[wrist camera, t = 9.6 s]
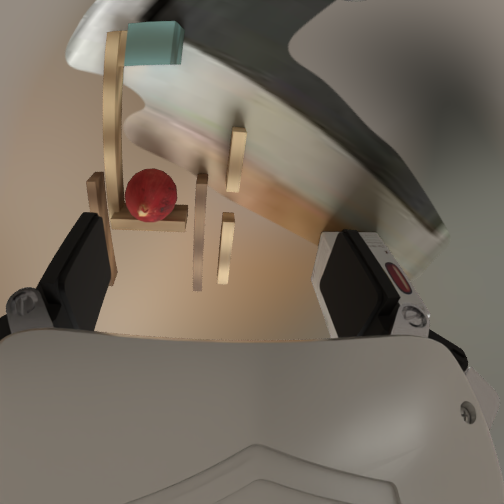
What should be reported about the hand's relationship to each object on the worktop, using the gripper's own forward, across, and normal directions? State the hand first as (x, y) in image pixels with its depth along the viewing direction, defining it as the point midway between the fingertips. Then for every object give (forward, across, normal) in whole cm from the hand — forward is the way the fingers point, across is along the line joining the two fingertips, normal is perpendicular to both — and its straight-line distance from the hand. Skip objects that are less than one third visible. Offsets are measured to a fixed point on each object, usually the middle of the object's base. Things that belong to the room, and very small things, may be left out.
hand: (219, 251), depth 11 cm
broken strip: (+23, -2, +10) cm, 26 cm away
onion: (+24, +7, +8) cm, 26 cm away
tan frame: (+23, +8, +1) cm, 24 cm away
